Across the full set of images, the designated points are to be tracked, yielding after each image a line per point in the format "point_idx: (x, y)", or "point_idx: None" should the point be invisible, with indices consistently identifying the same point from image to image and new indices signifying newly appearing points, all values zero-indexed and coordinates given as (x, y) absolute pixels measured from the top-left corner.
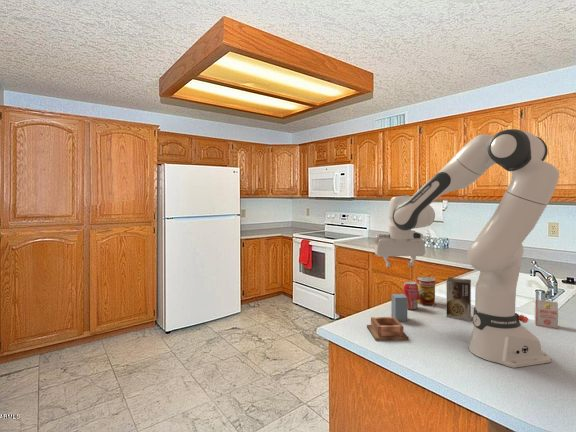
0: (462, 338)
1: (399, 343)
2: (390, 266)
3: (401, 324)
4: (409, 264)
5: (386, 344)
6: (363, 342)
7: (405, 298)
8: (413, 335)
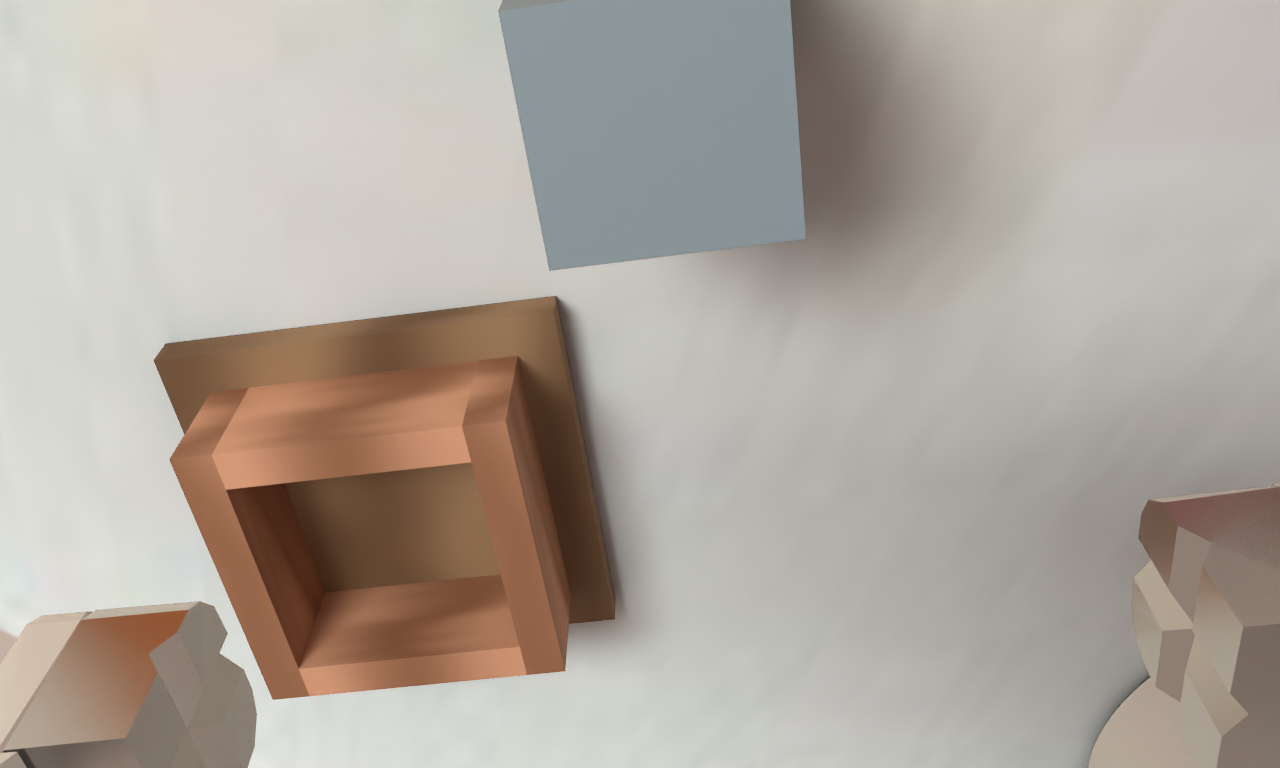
0: None
1: None
2: (248, 731)
3: (552, 630)
4: (1191, 653)
5: None
6: None
7: (759, 239)
8: (700, 505)
